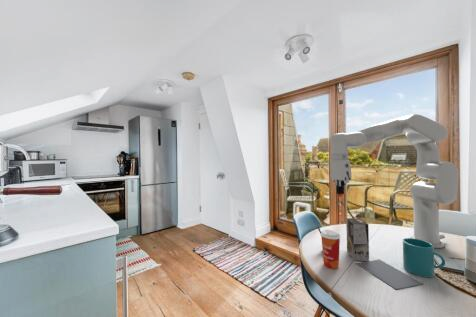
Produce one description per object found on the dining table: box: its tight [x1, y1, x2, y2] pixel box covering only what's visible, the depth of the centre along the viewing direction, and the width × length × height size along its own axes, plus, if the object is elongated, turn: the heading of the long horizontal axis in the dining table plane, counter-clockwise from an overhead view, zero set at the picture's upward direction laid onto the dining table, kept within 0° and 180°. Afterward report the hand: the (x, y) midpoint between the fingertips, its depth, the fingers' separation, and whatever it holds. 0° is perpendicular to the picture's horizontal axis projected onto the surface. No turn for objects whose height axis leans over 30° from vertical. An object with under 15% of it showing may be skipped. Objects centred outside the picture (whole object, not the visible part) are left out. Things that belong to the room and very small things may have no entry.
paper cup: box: [320, 229, 341, 270], centre depth 82 cm, size 8×8×14 cm
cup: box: [402, 237, 446, 278], centre depth 76 cm, size 9×12×11 cm
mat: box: [355, 259, 424, 290], centre depth 76 cm, size 12×17×1 cm
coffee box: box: [345, 217, 370, 262], centre depth 90 cm, size 9×6×16 cm
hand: (340, 193), depth 100 cm, fingers closed
